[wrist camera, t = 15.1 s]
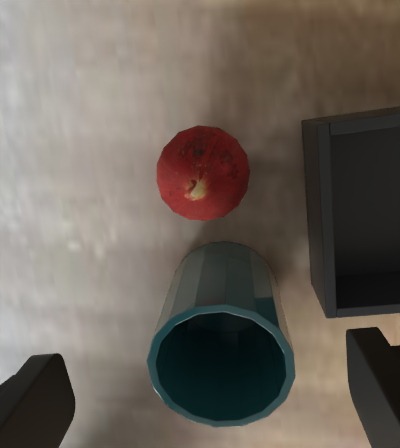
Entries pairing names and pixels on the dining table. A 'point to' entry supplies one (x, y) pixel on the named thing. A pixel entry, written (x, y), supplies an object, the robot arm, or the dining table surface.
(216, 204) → the onion
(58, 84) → the dining table surface
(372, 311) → the black open box
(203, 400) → the cup
